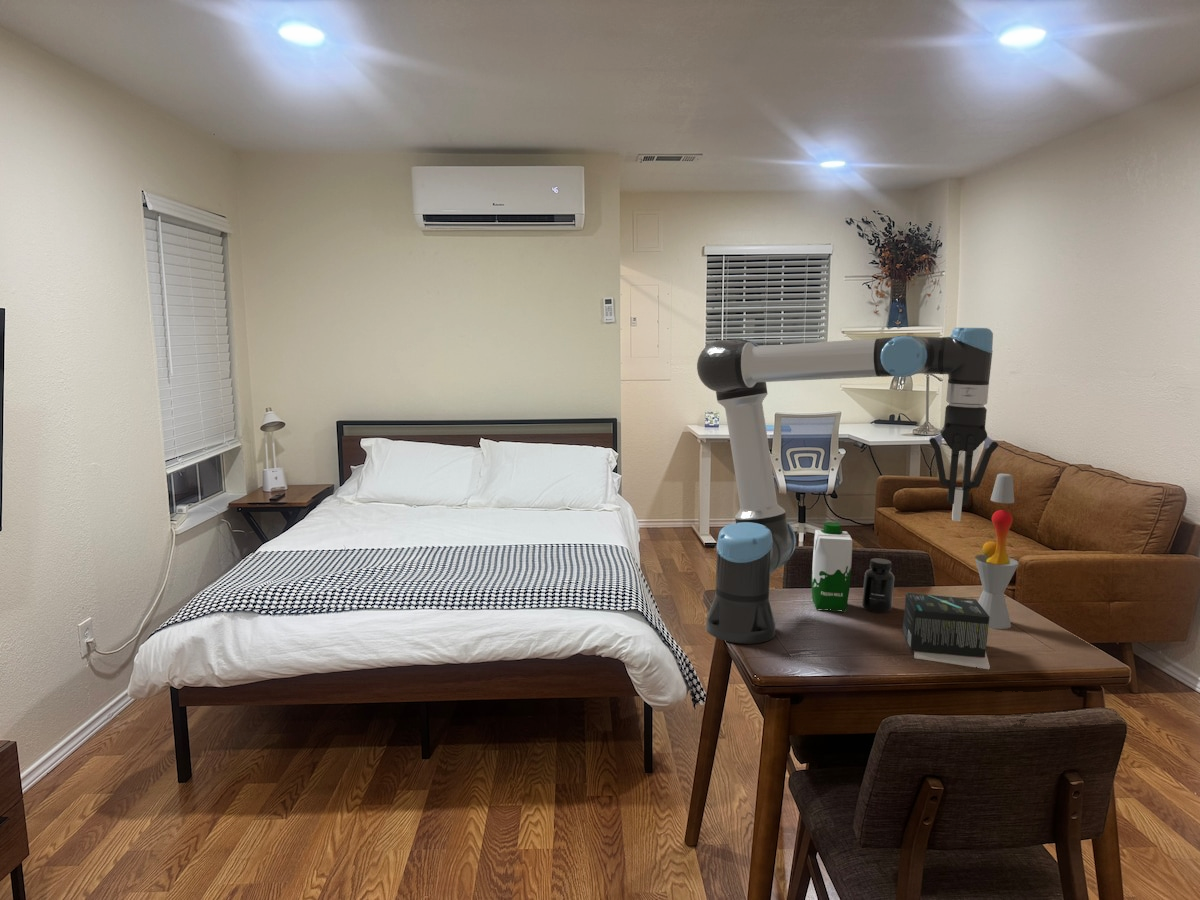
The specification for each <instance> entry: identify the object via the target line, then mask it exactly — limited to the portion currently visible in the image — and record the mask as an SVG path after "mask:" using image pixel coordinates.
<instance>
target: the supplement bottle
mask: <svg viewBox="0 0 1200 900" xmlns="http://www.w3.org/2000/svg"><path fill="white" fill-rule="evenodd" d="M891 570H892V561H891V560H889V559H885V558H877V557H875V558H871V559H870V563H869V569H867V570H866V571H865V572H864V579H863V591H862V601H861V606H862V607H863V609H865V610H866V609H867V611H869V610H870V612H872V611H873V613H877V612H881V613H880V614H885V613H884V612H886V613H889V612H890V611H892V608H893V599H894V597H893V596H894V589H895V588H894V587H895V574H893V572H892V571H891Z"/></svg>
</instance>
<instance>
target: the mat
mask: <svg viewBox="0 0 1200 900" xmlns="http://www.w3.org/2000/svg"><path fill="white" fill-rule="evenodd" d="M987 654H988V653H987V652H986V653H985V657H972V656H962V655H953V654H943V653H932V652H921V651H913V657H914V658H913V659H915V660H917V659H918V660H924V661H931V662H938V663H943V664H950V665H958V666H962V667H963V666H965V667H970V668H976V667H977V668H978V669H982V670H983V669H984V670H989V669H990V668H991V666H990V663H989V661H990V660H989V658H988V655H987ZM977 668H976V669H977Z"/></svg>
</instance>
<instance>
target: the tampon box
mask: <svg viewBox="0 0 1200 900" xmlns="http://www.w3.org/2000/svg"><path fill="white" fill-rule="evenodd" d="M904 601H905V603H904V613H903V622H902V634H903V636H904V639H905V641H906V643H907V644H908V647H909V650H910V651H911V652H914V651H921V652H932V653H943V654H953V655H962V656H972V657H985V653H986V654H987V652H986V651H987V645H988V644H987V643H988V634H989V628H988V625H989V619H990V616H989V615H988V614H987V613H986V611H985V610H984V609H983V608H982V606H981V605H980V604H979V603H978V600H977V599H975V598H965V597H954V596H946V595H935V594H926V593H925V594H924V593H916V592H906V593H905V600H904Z"/></svg>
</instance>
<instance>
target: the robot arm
mask: <svg viewBox="0 0 1200 900" xmlns="http://www.w3.org/2000/svg"><path fill="white" fill-rule="evenodd" d="M951 331H952V332H951V335H950V336H946V337H945V336H944V337H943V336H942V337H941V336H939V337H938V336H915V335H913V336H911V335H898V336H893V337H882V338H881V337H880V338H877V337H876V338H864V339H863V338H862V339H861V338H860V339H847V340H846V339H845V340H833V341H832V340H831V341H818V342H816V341H815V342H804V343H790V344H789V343H788V344H773V345H759V344H757V343H755V342H753V341H750V340H747V339H720V340H716V341H713V342H711V343H709V344H707V345H706V346H705V347H704V348H703V350H701V352H700V354H699V356H698V358H697V363H696V371H697V375H698V378H699V380H700V381H701V382H702V384H703V385H704V386H705V387H707V388H708V389H710V390H712V391H713V392H715V395H716V401H717V403H718V404H719V405H721V406H722V407H723V408H724V411H725V416H726V417H725V418H726V422H727V429H728V436H729V437H728V438H729V442H730V449H731V456H732V461H733V462H732V463H733V468H734V474H735V475H734V476H735V480H736V488H737V495H738V501H739V507H740V508H739V511H738V512H737V513H736V514H735V516H734V520H735V523H730V524H727V525H726V526H723V527H722V528H721V529H720V530H719V532H718V536H717V541H716V569H715V592H714V593H715V595H714V598H713V601H712V603H711V606H710V608H709V611H708V614H707V616H706V619H705V621H706V623H705V630H706V632H707V633H708V634H709V635H710V636H712V637H714V638H716V639H719V640H722V641H725V642H730V643H734V644H746V645H747V644H751V645H752V644H761V643H765V642H768V641H771V640H773V638H774V637H775V635H776V622H775V617H774V614H773V611H772V606H771V602H770V583H771V582H770V581H771V574H772V573H773V572H775V571H776V570H777V569H778V568H781V567H783V566H784V565H785V564H786V563H787V562H788V561H789V560H790V559H791V557H792V555H793V554H794V551H795V548H796V544H797V541H796V540H797V539H796V533H795V531H794V529H793V527H792V526H791V524H790V523H789V522H788V519H787V514H786V509H785V508H783V507H781V505H780V504H779V503H778V499H777V493H776V486H775V479H774V473H773V466H772V465H773V464H772V459H771V453H770V452H771V451H770V447H769V445H770V444H769V439H768V433H767V426H766V419H765V413H764V407H763V406H764V405H763V402H764V400H765V398H766V397H767V395H768V394H769V393H768V387H767V383H770V382H771V383H772V382H795V381H813V380H816V381H817V380H818V381H819V380H836V379H837V380H840V379H855V378H856V379H857V378H858V379H859V378H877V377H878V378H879V377H881V378H885V377H886V378H887V377H888V378H889V377H897V378H905V377H906V378H907V377H908V378H909V377H911V376H914V375H918V374H921V375H922V374H923V375H924V374H925V375H927V374H928V375H947V376H948V379H947V388H946V400H945V401H946V402H947V403H948V404H947V405H946V406H945V412H944V422H943V427H942V428H941V431H940V433H937V435H935V436H931V437H929V439H928V441H929V444H930V445H931V447H932V449H933V451H934V457H935V462H936V468H937V473H938V474H937V475H938V479H939V482H940V485H942V486H945V487H946V488H947V490H948V491H947V499H946V501H947V503H948V505H949V504H950V505H952V510H951V520H952V522H961V520H962V510H963V509H962V507H963V506H967V505H968V504H969V499H970V497H969V496H970V490H972V489H975V488H979V487H980V486H981V483H982V481H983V478H984V475H985V473H986V470H987V467H988V465H989V462H990V459H991V456H992V454H993V453H994V451H995V450H996V449H997V448H998V446H999V443H998V442H997V441H996V440H993V439H992V438H990V437H989V436H988V433H987V430H986V421H987V411H988V410H987V408H986V407H985V405H987V404H988V400H989V387H990V378H991V369H992V359H993V352H994V351H993V346H994V345H993V344H994V343H993V342H994V341H993V339H994V332H993V331H992V330H991V329H990V328H988V327H954V328H953V329H952V330H951ZM943 440H944V442H945V443H946V444H947V446H948V448H950V449H951V452H950V454H951V455H950V465H949V474H948V475H949V476H948V477H949V478H946V477H947V476H946V472H945V466H944V465H945V464H944V462H943V454H942V450H941V446H942V444H943V442H942V441H943ZM983 442H984V444H983ZM981 444H983V447H984V450H983V452H982V455H981V458H980V461H979V462H978V466H977V469H976V471H975V473H974V477H973V479H972V480H971V477H972V465H973V456H974V452H975V450H977V448H979V447H980V446H981ZM962 451H963V452H964V462H963V474H962V475H963V476H962V486H961V487H956V486H957V476H958V468H959V467H958V465H959V456H960V452H962Z"/></svg>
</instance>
